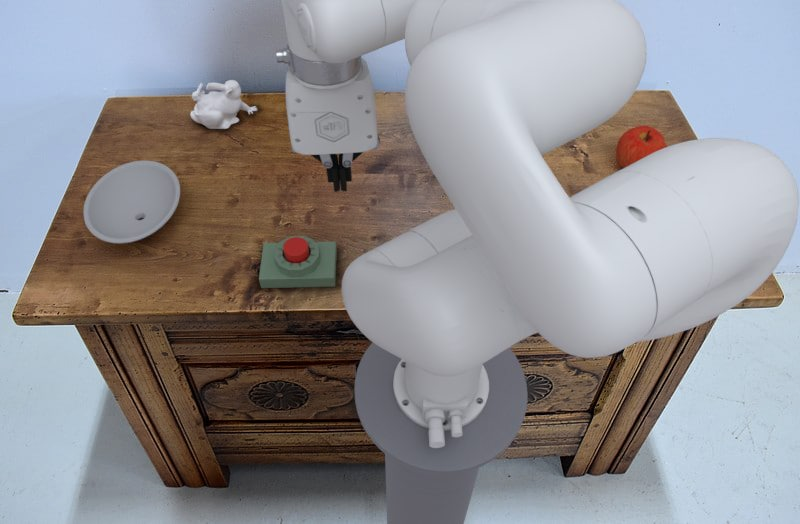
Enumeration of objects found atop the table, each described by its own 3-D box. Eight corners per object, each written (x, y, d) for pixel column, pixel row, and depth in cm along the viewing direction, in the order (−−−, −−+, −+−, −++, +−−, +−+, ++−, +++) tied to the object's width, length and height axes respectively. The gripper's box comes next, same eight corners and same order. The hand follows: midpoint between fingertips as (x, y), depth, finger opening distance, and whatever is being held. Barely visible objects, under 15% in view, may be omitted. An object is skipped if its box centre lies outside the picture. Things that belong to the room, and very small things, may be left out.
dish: (179, 261, 98) (171, 239, 95) (83, 266, 98) (70, 244, 94) (194, 180, 109) (186, 158, 106) (108, 184, 109) (97, 162, 105)
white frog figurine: (257, 107, 122) (248, 62, 114) (259, 132, 117) (249, 88, 110) (193, 113, 120) (179, 69, 113) (191, 139, 116) (177, 95, 108)
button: (308, 263, 94) (307, 255, 92) (283, 263, 94) (282, 256, 92) (309, 244, 96) (308, 236, 95) (285, 244, 96) (284, 237, 95)
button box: (335, 286, 96) (333, 270, 93) (261, 288, 95) (256, 271, 92) (336, 250, 100) (334, 233, 97) (265, 251, 100) (261, 234, 97)
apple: (659, 154, 114) (674, 118, 108) (657, 185, 109) (673, 149, 103) (613, 146, 116) (625, 110, 109) (609, 176, 111) (622, 140, 104)
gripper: (253, 81, 66) (280, 208, 80) (398, 74, 67) (400, 201, 81) (258, 42, 71) (283, 167, 85) (394, 35, 71) (396, 161, 85)
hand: (340, 183), depth 83 cm, fingers closed
